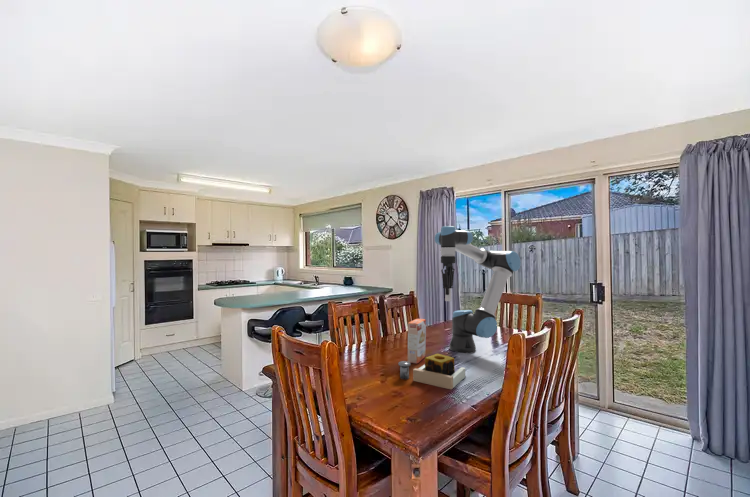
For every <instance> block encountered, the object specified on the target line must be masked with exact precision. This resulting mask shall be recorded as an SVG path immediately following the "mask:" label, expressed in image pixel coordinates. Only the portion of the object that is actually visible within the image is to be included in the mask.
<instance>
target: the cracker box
mask: <svg viewBox="0 0 750 497" xmlns="http://www.w3.org/2000/svg"><path fill="white" fill-rule="evenodd" d="M426 337H427V320H426V319H425V318H415V319H413V320H411V321H409V322H408V323H407V361H408V362H410V363H411V364H418V363H420V362H421V361H423V359H425V357H426V352H427V350H426V348H427V346H426V343H427V342H426V341H427V340H426V339H427V338H426Z"/></svg>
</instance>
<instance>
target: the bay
mask: <svg viewBox="0 0 750 497" xmlns="http://www.w3.org/2000/svg"><path fill="white" fill-rule="evenodd" d="M412 378H413V379H412V381H413V382H417V383H422V384H427V385H430V386H433V387H438V388H442V389H448V390H452V389H454V388H456V386H457V385H458V384H459V383H460V382H462V381H463V380H464V379H465V378H466V367H462V366H461V367H460V368H458V369H457V370H456V371H455V373H454V374H452V375H451V376H449V375H445V374H440V373H435V372H430V371H426V370H425V364H423V365H421V366H420V367H418V368H413V370H412Z"/></svg>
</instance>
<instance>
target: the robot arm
mask: <svg viewBox="0 0 750 497" xmlns="http://www.w3.org/2000/svg"><path fill="white" fill-rule="evenodd" d="M440 228H441V229H440V231H439V232H437V233H435V235H434V242H435V243H436V245H439V246H440V250H439V251H440V263H441V264H443V268H442V269H441V270H440V272H441V276H442V277H441V278H442V286H443V289H444V297H445V298H444V301H445V302H451V301H452V289H453V288H454V287H453V286H454V279H455V278H454V276H455V275H454V274H455V268H454V266H453V264H456V254H457V253H460V254H461V255H464V256H465V257H468V258H470V259H472V260H473V261H474V262H475V263H477V264H478V265H480V266H482V267H485V268H486V269H489V270H492V271H493V273H492V275H491V277H490V280H489V283H488V285H487V288H486V289H485V290H486V291H485V293H484V296H483V299H482V301H481V303H480V306H479V307H478V308H475V311H474V312H473V310H471V309H464V310H463V309H461V310H454V311H453V312H452V317H451V319H452V320H451V323H452V325H451V326H452V328H451V329H452V332H451V333H452V334H451V339H450V342H449V346H448V347H449V350H451V351H453V352H455V353H460V354H461V353H463V354H468V353H469V354H470V353H474V352H477V350H476V348H477V347H476V343H475V340H474V337H473V336H476V337H479V338H483V339H488V338H491V337H493V336H494V335H495V334H496V332H497V329H498V322H497V317H496V315H495V314H496V311H497V308H498V305H499V303H500V300H501V298H502V295H503V293H504V289H505V287H506V285H507V282H508V279H509V278H511V277H512V276H513V274H514V272H517V271H519V270H520V268H521V264H522V263H521V258H520V255H519V253H517V252H516V251H514V250H486V249H485V248H479V247H477V246H475V245H473V244H471V243H472V242H473V238H474V237H473V233H472V232H471V231H469V230H457V229H456V227H455V226H454V225H443V226H441V227H440ZM456 252H457V253H456Z"/></svg>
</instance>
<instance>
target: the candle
mask: <svg viewBox="0 0 750 497" xmlns="http://www.w3.org/2000/svg"><path fill="white" fill-rule="evenodd" d="M424 365H425V370H426V371H430V372H435V373H440V374H445V375H449V376H451V375H452V374H454V373H455V372H456V371H455V358H454V357H452V356H449V355H445V354H441V353H435V354H432V355H429V356H425V357H424Z"/></svg>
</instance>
